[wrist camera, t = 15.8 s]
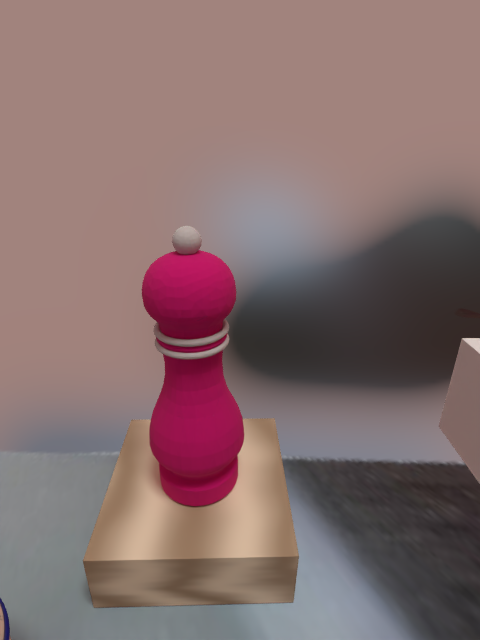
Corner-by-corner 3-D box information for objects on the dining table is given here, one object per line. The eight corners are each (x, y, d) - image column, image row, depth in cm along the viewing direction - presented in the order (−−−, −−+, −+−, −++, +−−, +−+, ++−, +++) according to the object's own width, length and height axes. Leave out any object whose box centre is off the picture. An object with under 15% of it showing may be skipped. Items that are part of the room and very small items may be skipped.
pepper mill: (167, 527, 27) (136, 244, 19) (145, 458, 33) (115, 220, 25) (259, 493, 30) (267, 232, 22) (224, 434, 36) (219, 213, 28)
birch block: (272, 457, 40) (274, 418, 38) (293, 602, 27) (298, 556, 25) (136, 458, 40) (131, 419, 38) (93, 607, 27) (82, 561, 25)
